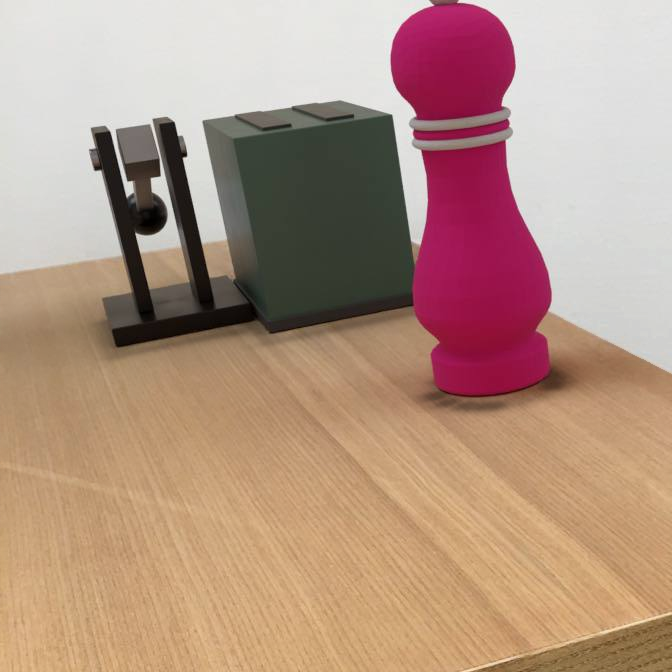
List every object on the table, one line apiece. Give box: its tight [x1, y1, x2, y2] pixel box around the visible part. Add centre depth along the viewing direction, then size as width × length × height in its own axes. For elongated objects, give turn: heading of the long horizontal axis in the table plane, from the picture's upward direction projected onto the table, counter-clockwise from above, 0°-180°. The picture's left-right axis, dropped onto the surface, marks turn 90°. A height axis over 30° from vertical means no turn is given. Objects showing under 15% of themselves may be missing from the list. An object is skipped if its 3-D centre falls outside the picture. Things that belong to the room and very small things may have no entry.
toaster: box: [201, 100, 416, 334], centre depth 83 cm, size 14×10×12 cm
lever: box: [115, 123, 169, 237], centre depth 85 cm, size 13×3×3 cm
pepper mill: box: [389, 0, 553, 396], centre depth 61 cm, size 7×7×20 cm
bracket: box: [88, 116, 254, 348], centre depth 82 cm, size 10×9×13 cm
